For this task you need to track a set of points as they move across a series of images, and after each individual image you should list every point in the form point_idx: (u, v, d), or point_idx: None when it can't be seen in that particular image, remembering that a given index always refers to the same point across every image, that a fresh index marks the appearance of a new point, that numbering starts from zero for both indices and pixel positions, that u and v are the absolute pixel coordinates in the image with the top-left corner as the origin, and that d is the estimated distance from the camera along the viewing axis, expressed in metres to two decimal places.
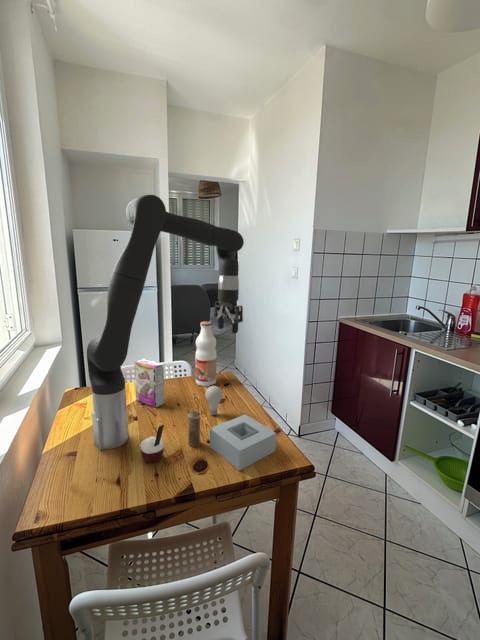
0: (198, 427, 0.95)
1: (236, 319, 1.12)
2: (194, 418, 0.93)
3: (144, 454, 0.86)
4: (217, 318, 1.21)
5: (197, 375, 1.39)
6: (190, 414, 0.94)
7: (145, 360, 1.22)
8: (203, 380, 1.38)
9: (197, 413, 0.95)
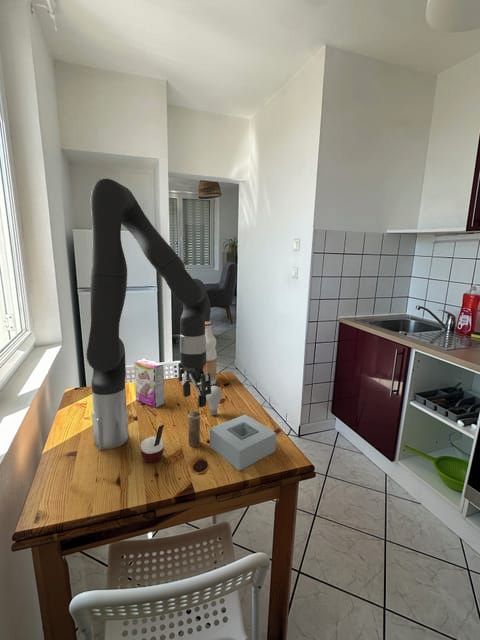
0: (198, 427, 0.95)
1: (202, 392, 0.87)
2: (194, 418, 0.93)
3: (144, 454, 0.86)
4: (182, 384, 0.96)
5: None
6: (190, 414, 0.94)
7: (145, 360, 1.22)
8: None
9: (197, 413, 0.95)
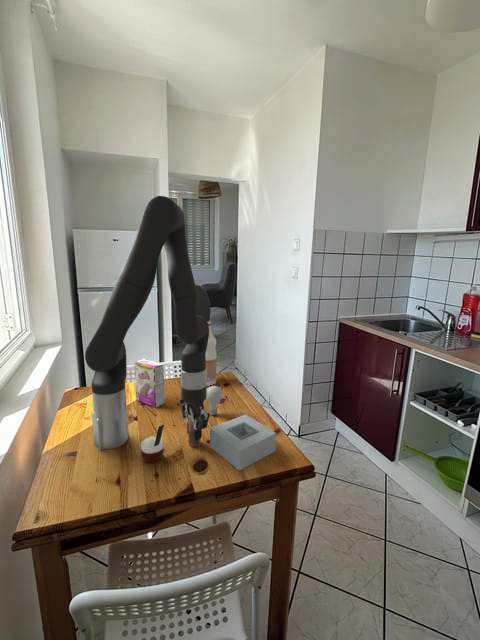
0: None
1: (198, 427, 0.91)
2: None
3: (144, 454, 0.86)
4: (186, 422, 0.97)
5: None
6: (190, 414, 0.94)
7: (145, 360, 1.22)
8: None
9: None
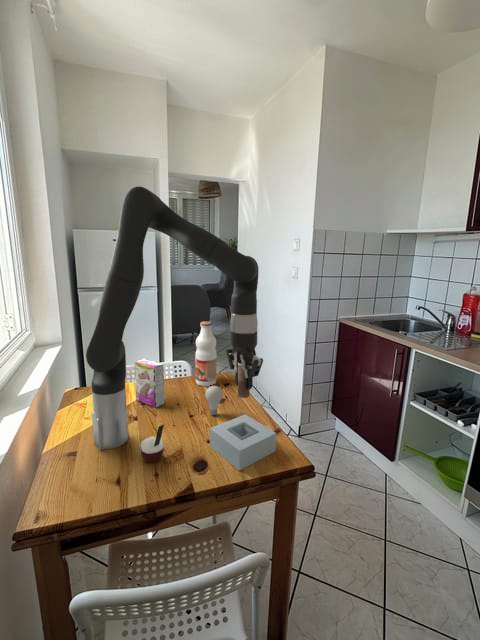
0: None
1: (251, 374, 0.86)
2: None
3: (144, 454, 0.86)
4: (235, 372, 0.91)
5: (197, 375, 1.39)
6: None
7: (145, 360, 1.22)
8: (203, 380, 1.38)
9: None
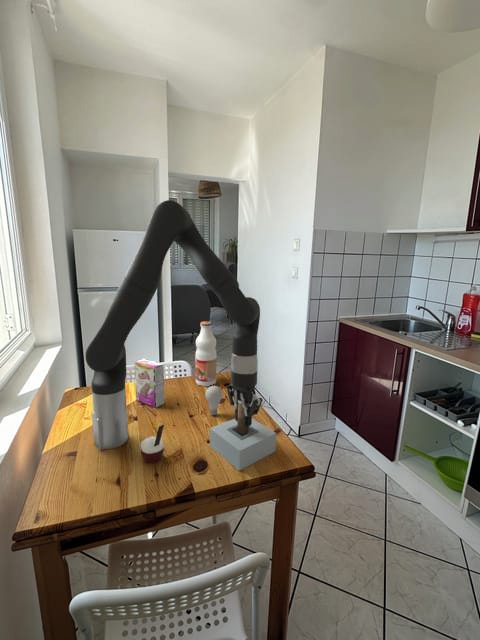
0: None
1: (250, 413, 0.88)
2: None
3: (144, 454, 0.86)
4: (235, 408, 0.93)
5: (197, 375, 1.39)
6: None
7: (145, 360, 1.22)
8: (203, 380, 1.38)
9: None
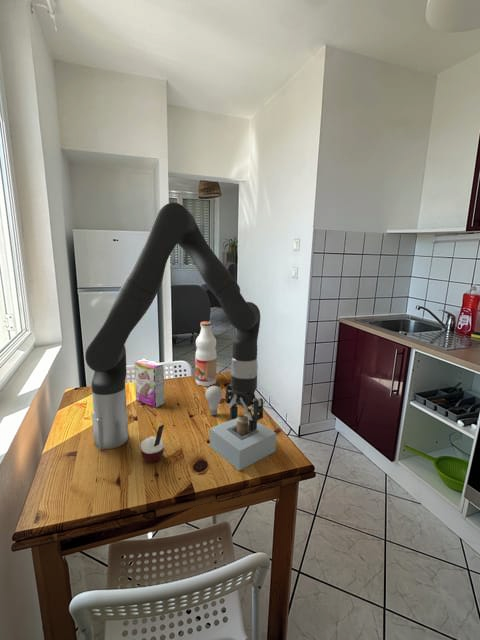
0: (247, 431, 0.93)
1: (255, 417, 0.86)
2: (244, 422, 0.91)
3: (144, 454, 0.86)
4: (229, 406, 0.95)
5: (197, 375, 1.39)
6: (239, 418, 0.93)
7: (145, 360, 1.22)
8: (203, 380, 1.38)
9: (246, 417, 0.93)
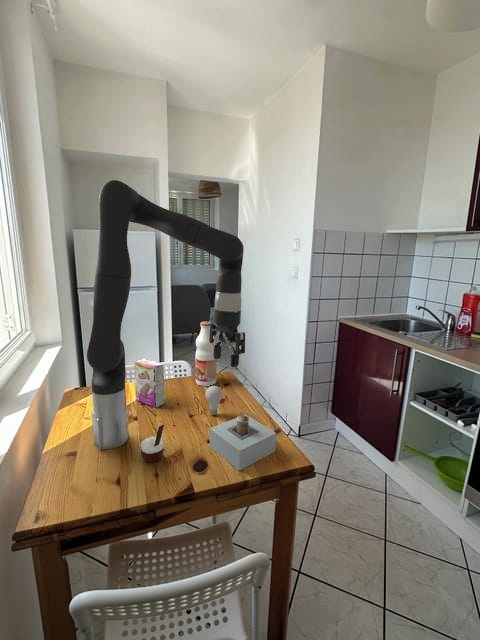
0: (247, 431, 0.93)
1: (236, 350, 0.86)
2: (244, 422, 0.91)
3: (144, 454, 0.86)
4: (213, 345, 0.95)
5: (197, 375, 1.39)
6: (239, 418, 0.93)
7: (145, 360, 1.22)
8: (203, 380, 1.38)
9: (246, 417, 0.93)
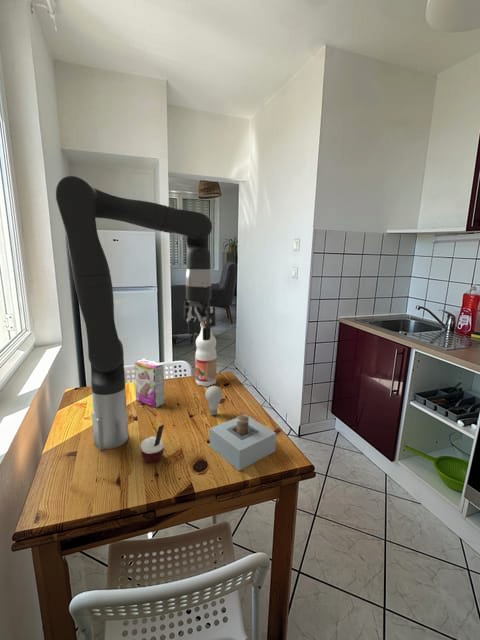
0: (247, 431, 0.93)
1: (207, 323, 0.90)
2: (244, 422, 0.91)
3: (144, 454, 0.86)
4: (187, 321, 0.99)
5: (197, 375, 1.39)
6: (239, 418, 0.93)
7: (145, 360, 1.22)
8: (203, 380, 1.38)
9: (246, 417, 0.93)
